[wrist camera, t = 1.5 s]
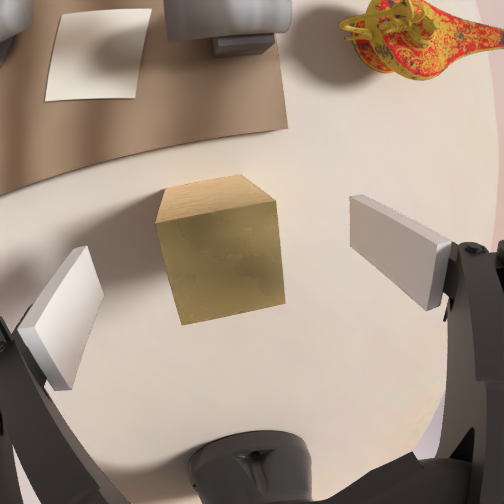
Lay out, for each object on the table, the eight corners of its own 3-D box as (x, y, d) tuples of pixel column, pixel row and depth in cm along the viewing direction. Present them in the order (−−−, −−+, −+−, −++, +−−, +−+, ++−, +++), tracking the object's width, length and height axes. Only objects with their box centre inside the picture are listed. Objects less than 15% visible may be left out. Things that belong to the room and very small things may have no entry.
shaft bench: (-13, 199, 16) (-60, 224, 11) (-27, 33, 11) (-71, 19, 5) (282, 128, 19) (319, 129, 14) (255, -47, 14) (279, -90, 8)
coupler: (180, 258, 21) (181, 325, 14) (165, 188, 19) (154, 223, 12) (250, 244, 22) (285, 303, 15) (241, 174, 20) (275, 200, 13)
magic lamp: (470, 78, 20) (564, 83, 10) (308, 97, 19) (416, 80, 9) (452, 13, 17) (542, -1, 8) (279, 9, 16) (359, -69, 6)
